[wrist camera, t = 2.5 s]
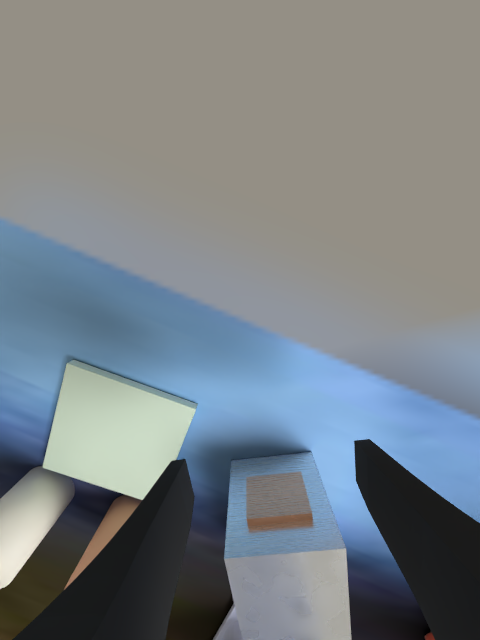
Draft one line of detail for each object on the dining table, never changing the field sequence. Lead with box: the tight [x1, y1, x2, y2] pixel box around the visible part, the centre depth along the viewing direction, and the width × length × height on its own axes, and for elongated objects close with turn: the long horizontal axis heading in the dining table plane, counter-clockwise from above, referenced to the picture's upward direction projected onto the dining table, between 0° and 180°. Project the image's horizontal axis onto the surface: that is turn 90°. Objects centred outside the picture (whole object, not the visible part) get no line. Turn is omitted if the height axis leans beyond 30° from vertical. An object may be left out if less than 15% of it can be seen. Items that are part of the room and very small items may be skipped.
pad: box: [42, 360, 198, 500], centre depth 17 cm, size 9×9×1 cm
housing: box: [224, 452, 351, 640], centre depth 15 cm, size 9×6×6 cm
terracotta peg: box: [64, 495, 142, 590], centre depth 16 cm, size 4×4×5 cm
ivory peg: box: [0, 466, 75, 589], centre depth 16 cm, size 4×4×5 cm
